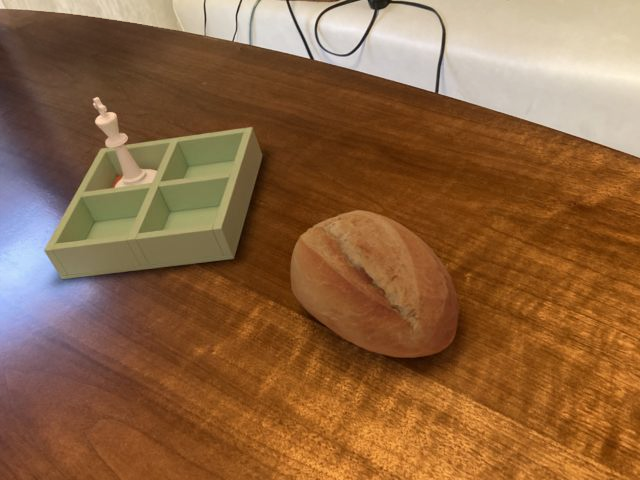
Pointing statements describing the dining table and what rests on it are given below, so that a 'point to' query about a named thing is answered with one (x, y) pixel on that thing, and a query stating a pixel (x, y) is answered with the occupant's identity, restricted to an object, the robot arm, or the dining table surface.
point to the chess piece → (121, 148)
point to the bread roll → (375, 285)
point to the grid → (160, 206)
